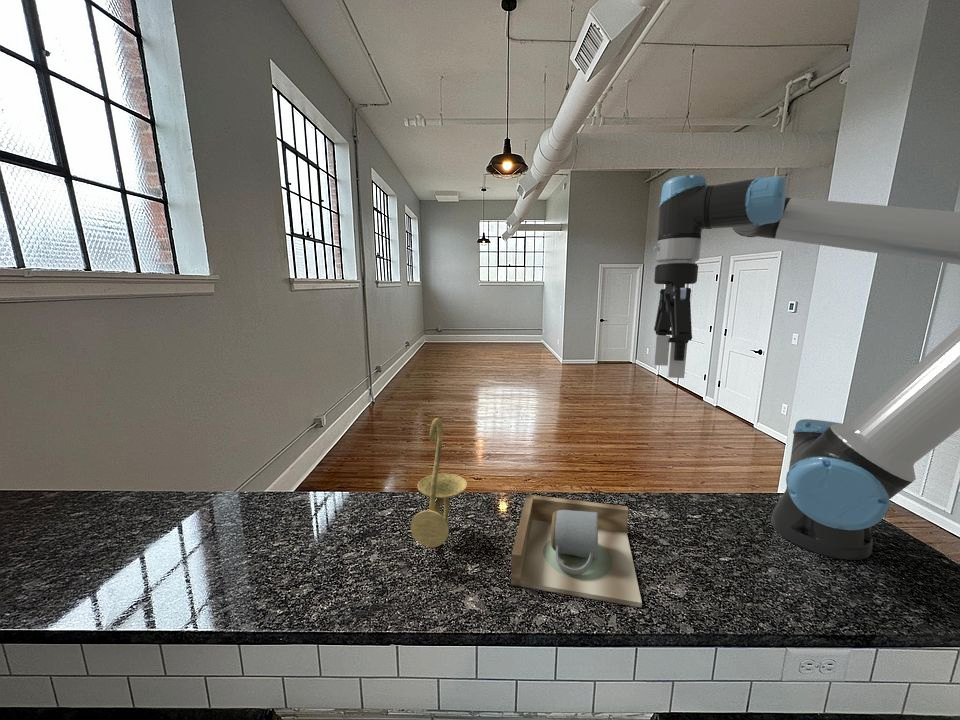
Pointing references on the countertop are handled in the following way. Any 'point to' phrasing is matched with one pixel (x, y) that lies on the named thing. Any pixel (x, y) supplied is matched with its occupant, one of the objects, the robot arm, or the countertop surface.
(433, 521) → the wall sconce
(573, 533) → the ceramic mug
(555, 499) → the tray
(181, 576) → the countertop surface
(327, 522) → the countertop surface
